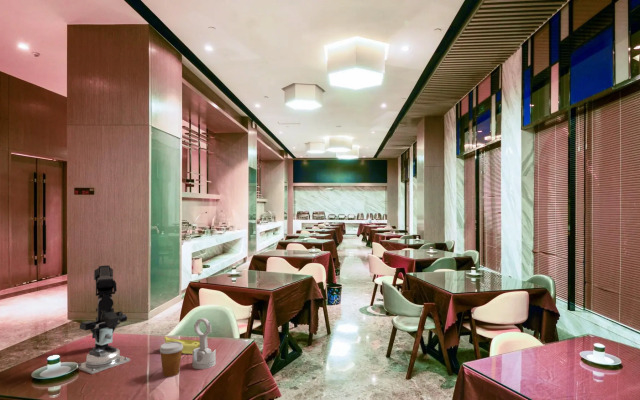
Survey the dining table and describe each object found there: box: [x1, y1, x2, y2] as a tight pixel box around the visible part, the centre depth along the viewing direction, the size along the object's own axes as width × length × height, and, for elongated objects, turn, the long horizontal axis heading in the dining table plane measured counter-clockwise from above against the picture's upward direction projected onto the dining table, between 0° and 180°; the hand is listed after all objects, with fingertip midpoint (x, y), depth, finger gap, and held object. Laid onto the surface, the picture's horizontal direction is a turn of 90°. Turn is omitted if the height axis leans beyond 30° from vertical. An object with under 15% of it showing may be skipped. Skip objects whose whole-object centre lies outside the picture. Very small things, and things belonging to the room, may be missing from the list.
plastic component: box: [163, 335, 200, 355], centre depth 184 cm, size 20×7×10 cm
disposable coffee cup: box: [158, 342, 183, 377], centre depth 156 cm, size 10×10×12 cm
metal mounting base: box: [77, 344, 131, 375], centre depth 167 cm, size 14×17×6 cm
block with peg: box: [94, 327, 114, 345], centre depth 167 cm, size 7×5×6 cm
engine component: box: [191, 317, 217, 370], centre depth 166 cm, size 11×20×10 cm
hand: (103, 340), depth 167 cm, fingers closed on block with peg, 5 cm apart
